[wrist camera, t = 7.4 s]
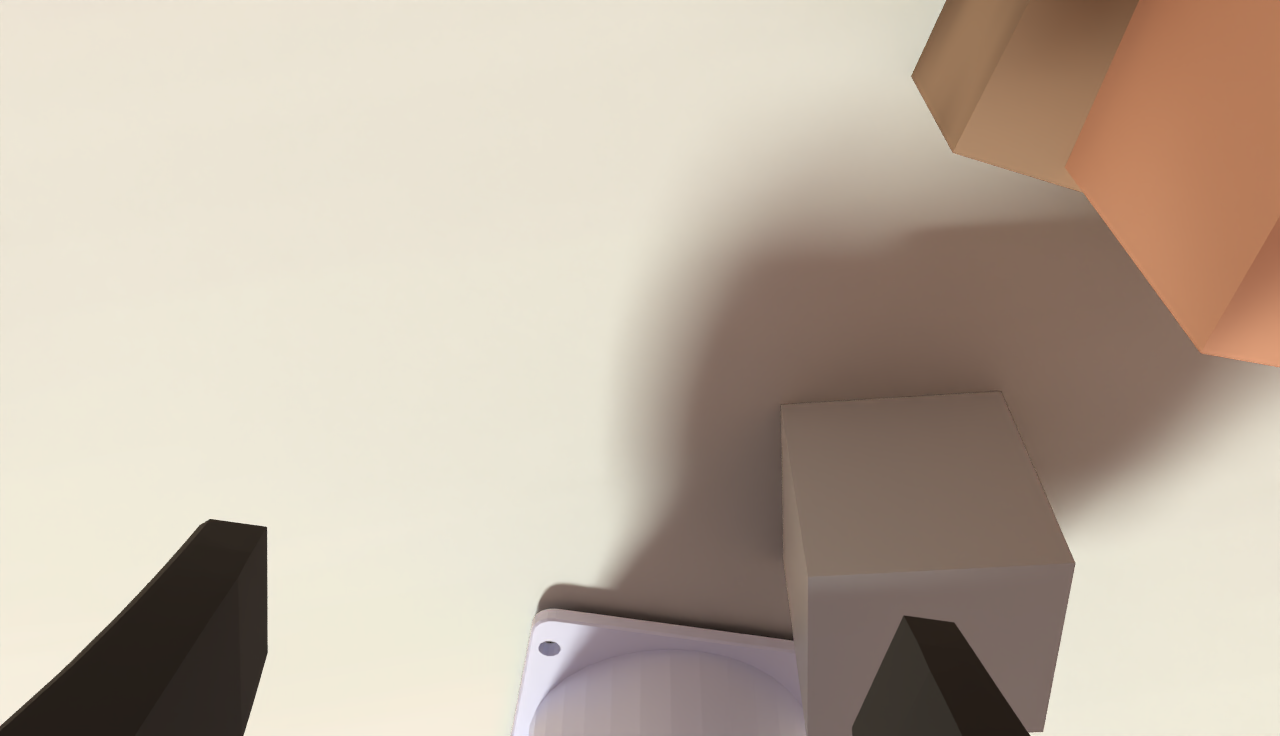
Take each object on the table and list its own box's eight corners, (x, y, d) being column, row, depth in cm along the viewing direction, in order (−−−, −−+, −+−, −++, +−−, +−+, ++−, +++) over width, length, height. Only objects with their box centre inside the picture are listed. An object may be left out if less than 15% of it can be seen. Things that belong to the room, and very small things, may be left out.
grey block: (980, 548, 26) (1042, 731, 22) (783, 559, 26) (807, 742, 22) (1000, 389, 23) (1075, 563, 19) (781, 402, 23) (808, 576, 19)
